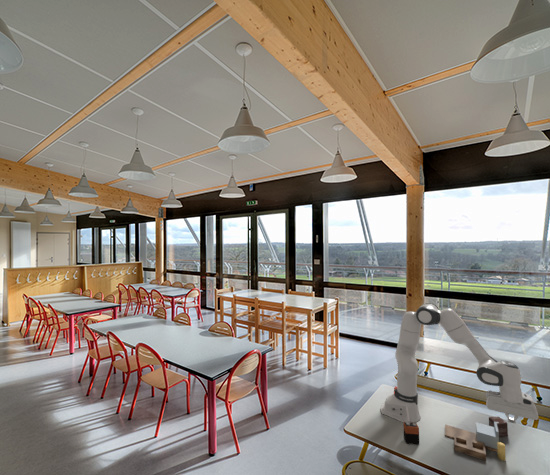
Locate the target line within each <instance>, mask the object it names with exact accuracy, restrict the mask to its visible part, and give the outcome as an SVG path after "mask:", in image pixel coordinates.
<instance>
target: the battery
mask: <svg viewBox="0 0 550 475" xmlns="http://www.w3.org/2000/svg"><path fill="white" fill-rule="evenodd" d="M402 423H403V426H402V427H403V439H404V440H403V441H404V442H405V444H406V445H416V446H418V445H419V446H420V428H419V427H420V426H418V423H416V422H402Z"/></svg>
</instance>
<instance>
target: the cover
mask: <svg viewBox="0 0 550 475" xmlns="http://www.w3.org/2000/svg"><path fill="white" fill-rule="evenodd" d="M475 433H476V437H477V441H479V442H482V443H484V444H485V446H488V447H491V448H494V449H498V447H497V443H498V442H500V437H499V432H498V427H497V423H496V422H494V427H492V426H489V424H488V425H487V424H485V423H480V422H478V421H477V422H475Z"/></svg>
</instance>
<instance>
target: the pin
mask: <svg viewBox="0 0 550 475" xmlns="http://www.w3.org/2000/svg"><path fill="white" fill-rule="evenodd" d="M497 447H498V452H497V459H498V460H499V461H502V462H506V456H507V455H506V445H505V443H503V442H501V441H499V442H498V443H497Z"/></svg>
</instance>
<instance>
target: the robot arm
mask: <svg viewBox="0 0 550 475" xmlns="http://www.w3.org/2000/svg"><path fill="white" fill-rule="evenodd" d="M438 324H439V325H440V326H441V327H442V328H443V329H444V331H445V333H446V334H447V335H448V337H449V338H450V339H451V341H453V342H454V343H456V344H458V345H464V347H466V348H468V350H469V351H470V352H471V354H472V355H473V356H474V357H475V359H476V360H477V362H478V367H477V369H476V373H475V374H476V377H477V378H478V380H479V381H480V382H481V383H483V384H485V385H487V386H492V387H498V388H499V389H498V391H493V390H487V391H485V393H484V394H485V395H484V396H485V398H486V402H485V403H486V407H487V409H488V410H492V411H495V412H500V413H503V414H505V417H506V418H507V423H511V424H512V423H513V424H515V425H516V422H517V420H518V419H519V417H522V418H525V419H530V420H534V421H537V420H539V413H538V409H537V407H536V405H535V401H534V398H533V397H532V396H531V395H529V394H528V393H526V392H523V391H522V388H521V385H522V375H521V371H520V368H519V367H518V366H517V365H516V364H515V363H513V362H510V361H508V360H500V361H497V360H496V359H495V358H493V357H492V356H491V355H490V354H489V353H488V352H487V351H486V350H485V349H484V347H483V346H482V344H480V342H479V341H478V340H477V339H476V338H475V336H474V335H473V333H472V331H471V330H470V328H469V327H468V326H467V324H466V322H465V321H464V320H463V319H462V318H461V317H460V315H458V313H457V311H454V309H452V308H444V309H440V308H439V306H437V305H436V304H434V303H431V302H426V303H423V304H422V305H421V306H419V307H418V308H417V310H416V311H411V310H410V311H406V312H405V313H403V316H402V320H401V323H400V331H399V338H398V342H397V346H396V351H395V355H394V356H395V357H394V358H395V359H396V363H397V376H396V386H394V388H393V389H394V390H393V394H391V395H388V396H387V397H386V398H385V399H384V400H385V401H384V402H383V403H382V404H381V406H380V412H381V414H382V415H385V416H387V417H389V418H392V419H394V420H397V421H399V422H402V423H404V422H410V423H416V422H419V421H420V420H421V414H420V411H419V405H418V404H419V394H418V386H417V385H418V382H417V381H418V380H417V379H418V374H419V362H418V361H417V359H416V352H417V348H418V347H419V345H420V339H421V338H420V337H421V330H422V325H424V326H432V325H438ZM510 415H513V417H510Z"/></svg>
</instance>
